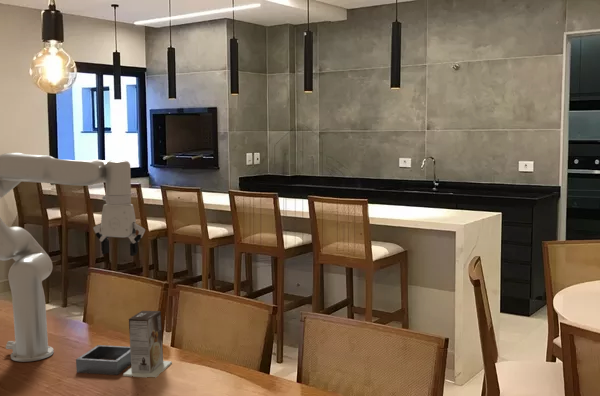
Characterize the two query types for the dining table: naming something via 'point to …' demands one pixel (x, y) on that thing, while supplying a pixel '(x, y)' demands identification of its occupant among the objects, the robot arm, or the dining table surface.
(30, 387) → the dining table surface
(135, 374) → the placemat
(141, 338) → the coffee box
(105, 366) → the holder
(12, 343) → the robot arm
